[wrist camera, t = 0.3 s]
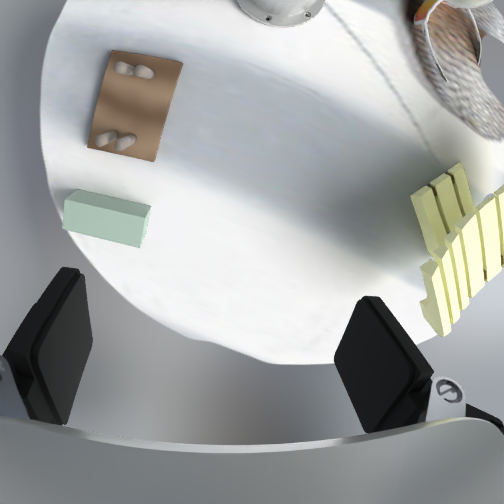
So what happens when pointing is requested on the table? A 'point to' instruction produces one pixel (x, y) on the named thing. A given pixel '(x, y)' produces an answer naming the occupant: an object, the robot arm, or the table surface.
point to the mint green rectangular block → (106, 217)
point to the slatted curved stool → (457, 245)
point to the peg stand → (133, 104)
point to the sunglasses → (422, 19)
